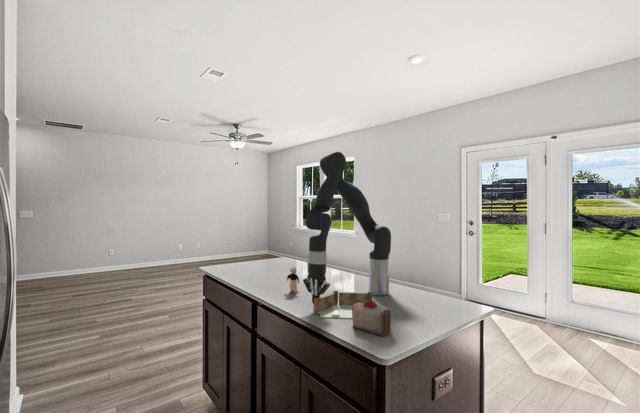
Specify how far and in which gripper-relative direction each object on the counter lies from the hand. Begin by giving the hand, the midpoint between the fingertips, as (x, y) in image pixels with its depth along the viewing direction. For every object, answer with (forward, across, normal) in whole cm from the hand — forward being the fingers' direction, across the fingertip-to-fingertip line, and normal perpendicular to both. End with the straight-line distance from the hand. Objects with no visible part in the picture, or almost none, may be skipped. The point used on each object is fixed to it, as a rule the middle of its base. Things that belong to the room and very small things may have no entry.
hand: (315, 303), depth 130 cm
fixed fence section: (+2, -10, -15) cm, 18 cm away
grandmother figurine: (+3, +25, -14) cm, 29 cm away
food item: (+2, -27, +3) cm, 27 cm away
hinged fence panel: (+2, -3, -3) cm, 5 cm away
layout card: (+2, -10, -10) cm, 14 cm away
